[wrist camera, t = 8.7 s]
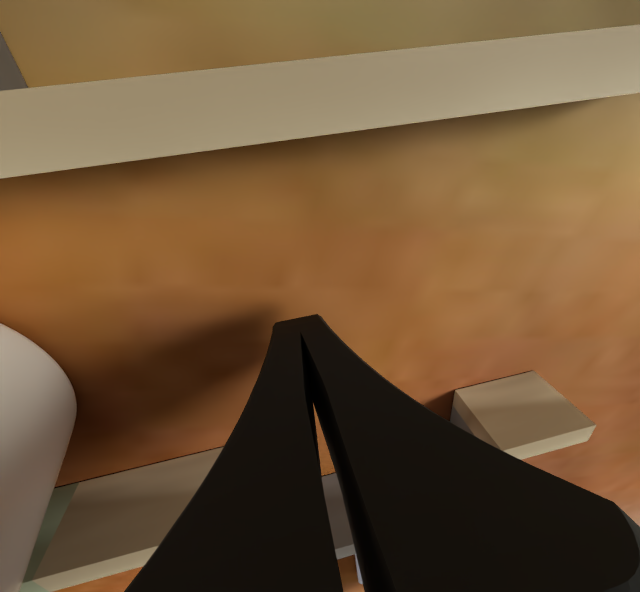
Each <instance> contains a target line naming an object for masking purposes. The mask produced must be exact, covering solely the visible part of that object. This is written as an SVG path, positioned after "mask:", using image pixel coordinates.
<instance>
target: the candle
mask: <svg viewBox="0 0 640 592" xmlns="http://www.w3.org/2000/svg"><path fill="white" fill-rule="evenodd" d="M76 414H77V402H76V396H75V392H74V389H73V387H72V384H71V382H70V380H69V379H68V377H67V375H66V374H65V372H64V371H63V370H62V368H61V367H60V366H59V365H58V363H57V362H56V361H55V360H54V359H53V358H52V357H51V356H50V355H49V354H48V353H47V352H45V351H44V350H43V349H42V348H41V347H39V346H38V345H37V344H35V343H34V342H32V341H31V340H30V339H28V338H27V337H25V336H23V335H22V334H20V333H18V332H17V331H15V330H13V329H11V328H9V327H7V326H5V325H3V324H1V323H0V592H19V591H20V588H21V585H22V582H23V579H24V577H25V574H26V571H27V568H28V565H29V562H30V559H31V556H32V553H33V550H34V547H35V544H36V541H37V538H38V535H39V532H40V529H41V526H42V523H43V520H44V517H45V514H46V511H47V508H48V505H49V502H50V499H51V496H52V493H53V490H54V487H55V484H56V481H57V478H58V475H59V472H60V469H61V466H62V463H63V460H64V457H65V454H66V451H67V448H68V445H69V441H70V438H71V435H72V432H73V428H74V424H75V420H76Z"/></svg>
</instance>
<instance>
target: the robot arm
mask: <svg viewBox="0 0 640 592" xmlns="http://www.w3.org/2000/svg"><path fill="white" fill-rule="evenodd" d="M313 403H314V406H315V409H316V412H317V416H318V419H319V422H320V425H321V428H322V431H323V434H324V437H325V440H326V443H327V446H328V449H329V453H330V456H331V459H332V462H333V465H334V468H335V471H336V474H337V478H338V481H339V485H340V488H341V492H342V496H343V501H344V505H345V509H346V513H347V518H348V522H349V526H350V530H351V535H352V539H353V543H354V547H355V552H356V554H355V560H356V569H357V577H358V581H359V583H360V584H363V586H364V591H365V592H640V527H639V526H638V525H637V524H636V523H635V522H634V521H633V520H632V519H631V518H630V517H629V516H628V515H627V514H626V513H625V512H624V511H622V510H621V509H620V508H619V507H618V506H617V505H616V504H615V503H614V502H612V501H610V500H608V499H605V498H603V497H601V496H599V495H596V494H594V493H592V492H590V491H588V490H585V489H583V488H581V487H579V486H576V485H574V484H572V483H570V482H568V481H565V480H563V479H561V478H559V477H556V476H554V475H552V474H550V473H548V472H545V471H543V470H541V469H539V468H536V467H534V466H532V465H530V464H528V463H526V462H524V461H522V460H520V459H518V458H516V457H514V456H512V455H510V454H508V453H506V452H504V451H502V450H500V449H498V448H496V447H494V446H492V445H490V444H488V443H486V442H484V441H483V440H481V439H479V438H477V437H476V436H474V435H472V434H470V433H469V432H467V431H465V430H463V429H462V428H460V427H458V426H456V425H455V424H453V423H451V422H449V421H448V420H446V419H444V418H442V417H441V416H439V415H437V414H436V413H434V412H433V411H431V410H429V409H428V408H426V407H425V406H423V405H422V404H420V403H419V402H417V401H416V400H414V399H413V398H411V397H410V396H408V395H407V394H405V393H404V392H403V391H401V390H400V389H398V388H397V387H396V386H394V385H393V384H392V383H390V382H389V381H388V380H386V379H385V378H384V377H382V376H381V375H380V374H379V373H378V372H376V371H375V370H374V369H373V368H371V367H370V366H369V365H368V364H367V363H366V362H364V361H363V360H362V359H361V358H360V357H359V356H358V355H357V354H356V353H355V352H353V351H352V350H351V349H350V348H349V347H348V346H347V345H346V344H345V343H344V342H343V341H342V340H341V339H340V338H339V337H338V336H337V335H336V334H335V333H334V332H333V330H332V329H331V328H330V327H329V326H328V325H327V324H326V322H325V321H324V320H323V318H322V317H321V316H319V315H318V314H316V315H311V316H306V317H301V318H296V319H291V320H286V321H281V322H276V323H275V325H274V326H273V331H272V336H271V340H270V344H269V347H268V351H267V354H266V357H265V360H264V363H263V365H262V368H261V371H260V374H259V376H258V379H257V381H256V383H255V386H254V388H253V390H252V393H251V395H250V397H249V399H248V402H247V404H246V406H245V408H244V410H243V412H242V414H241V416H240V418H239V420H238V422H237V424H236V426H235V428H234V430H233V432H232V433H231V435H230V437H229V439H228V441H227V442H226V444H225V446H224V448H223V449H222V451H221V453H220V454H219V456H218V458H217V459H216V461H215V463H214V464H213V466H212V468H211V469H210V471H209V473H208V474H207V476H206V477H205V479H204V481H203V482H202V484H201V485H200V487H199V488H198V490H197V491H196V493H195V494H194V496H193V497H192V499H191V500H190V502H189V503H188V505H187V506H186V507H185V509H184V510H183V512H182V513H181V515H180V516H179V517H178V519H177V520H176V522H175V523H174V525H173V526H172V527H171V529H170V530H169V532H168V533H167V535H166V536H165V537H164V539H163V540H162V542H161V543H160V545H159V546H158V547H157V549H156V550H155V552H154V553H153V554H152V556H151V557H150V558H149V560H148V561H147V562H146V564H145V565H144V567H143V568H142V569H141V571H140V572H139V573H138V574H137V576H136V577H135V578H134V580H133V581H132V582H131V583H130V585H129V586H128V587H127V589H126V590H125V591H124V592H343V588H342V583H341V577H340V572H339V567H338V562H337V557H336V552H335V547H334V542H333V537H332V532H331V527H330V522H329V516H328V511H327V506H326V501H325V496H324V490H323V483H322V476H321V468H320V459H319V451H318V442H317V433H316V425H315V416H314V407H313Z"/></svg>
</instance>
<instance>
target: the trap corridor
mask: <svg viewBox="0 0 640 592" xmlns="http://www.w3.org/2000/svg"><path fill="white" fill-rule="evenodd" d="M634 93H640V24H639V25H629V26H620V27H610V28H601V29H591V30H581V31H572V32H562V33H552V34H543V35H533V36H524V37H514V38H504V39H495V40H485V41H476V42H466V43H456V44H447V45H437V46H428V47H418V48H408V49H399V50H389V51H379V52H370V53H360V54H351V55H341V56H331V57H322V58H312V59H303V60H293V61H283V62H274V63H264V64H254V65H245V66H235V67H226V68H216V69H206V70H197V71H187V72H178V73H168V74H158V75H149V76H139V77H129V78H120V79H110V80H101V81H91V82H81V83H72V84H62V85H53V86H43V87H33V88H28V86H27V84H26V82H25V80H24V78H23V76H22V74H21V72H20V70H19V68H18V66H17V64H16V62H15V60H14V58H13V56H12V54H11V52H10V50H9V48H8V46H7V44H6V42H5V40H4V38H3V36H2V34H1V32H0V179H1V178H8V177H16V176H23V175H30V174H38V173H45V172H53V171H60V170H68V169H75V168H83V167H90V166H98V165H105V164H112V163H120V162H127V161H135V160H142V159H150V158H157V157H165V156H172V155H180V154H187V153H194V152H202V151H209V150H217V149H224V148H232V147H239V146H247V145H254V144H261V143H269V142H276V141H284V140H291V139H299V138H306V137H314V136H321V135H329V134H336V133H343V132H351V131H358V130H366V129H373V128H381V127H388V126H396V125H403V124H411V123H418V122H425V121H433V120H440V119H448V118H455V117H463V116H470V115H478V114H485V113H493V112H500V111H507V110H515V109H522V108H530V107H537V106H545V105H552V104H560V103H567V102H574V101H582V100H589V99H597V98H604V97H612V96H619V95H627V94H634ZM450 422H451V423H453V424H455V425H456V426H458V427H460V428H462V429H463V430H465V431H467V432H469V433H470V434H472V435H474V436H476V437H477V438H479V439H481V440H483V441H484V442H486V443H488V444H490V445H492V446H494V447H496V448H498V449H500V450H502V451H504V452H506V453H508V454H510V455H512V456H514V457H516V458H518V459H520V460H521V459H525V458H529V457H532V456H536V455H539V454H543V453H546V452H550V451H553V450H557V449H561V448H564V447H568V446H571V445H575V444H578V443H582V442H585V441H588V439H589V437H590V436H591V434H592V432H593V430H594V429H595V427H596V424H595V423H594V422H592V421H591V420H590V419H589V418H588V417H587V416H586V415H584V414H583V413H582V412H581V411H580V410H579V409H577V408H576V407H575V406H574V405H573V404H572V403H571V402H569V401H568V400H567V399H566V398H565V397H564V396H562V395H561V394H560V393H559V392H558V391H557V390H556V389H554V388H553V387H552V386H551V385H550V384H549V383H548V382H546V381H545V380H544V379H543V378H542V377H541V376H539V375H538V374H537V373H536V372H535V371H531V372H527V373H523V374H519V375H515V376H510V377H506V378H502V379H498V380H494V381H490V382H486V383H482V384H478V385H474V386H470V387H466V388H462V389H458V390H455V394H454V400H453V405H452V411H451V417H450ZM223 448H224V447H221V448H217V449H213V450H209V451H205V452H201V453H197V454H193V455H189V456H185V457H181V458H176V459H172V460H168V461H164V462H160V463H156V464H152V465H148V466H144V467H140V468H136V469H132V470H128V471H124V472H119V473H115V474H111V475H107V476H103V477H99V478H95V479H91V480H87V481H83V482H79V483H75V484H71V485H67V486H62V487H58V488H54V490H53V493H52V496H51V499H50V502H49V505H48V508H47V511H46V514H45V517H44V520H43V523H42V526H41V529H40V532H39V535H38V538H37V541H36V544H35V547H34V550H33V553H32V556H31V559H30V562H29V565H28V568H27V571H26V574H25V577H24V579H23V582H22V585H21V588H20V591H19V592H52V591H56V590H60V589H63V588H67V587H70V586H74V585H77V584H81V583H84V582H88V581H92V580H95V579H99V578H102V577H106V576H109V575H113V574H116V573H120V572H124V571H127V570H131V569H134V568H138V567H141V566H144V565H145V564H146V562H147V561H148V560H149V558H150V557H151V556H152V554H153V553H154V552H155V550H156V549H157V547H158V546H159V545H160V543H161V542H162V540H163V539H164V537H165V536H166V535H167V533H168V532H169V530H170V529H171V527H172V526H173V525H174V523H175V522H176V520H177V519H178V517H179V516H180V515H181V513H182V512H183V510H184V509H185V507H186V506H187V505H188V503H189V502H190V500H191V499H192V497H193V496H194V494H195V493H196V491H197V490H198V488H199V487H200V485H201V484H202V482H203V481H204V479H205V477H206V476H207V474H208V473H209V471H210V469H211V468H212V466H213V464H214V463H215V461H216V459H217V458H218V456H219V454H220V453H221V451H222V449H223ZM322 483H323V490H324V496H325V501H326V506H327V511H328V516H329V522H330V527H331V532H332V537H333V542H334V547H335V552H336V557H337V559H341V558H344V557H347V556H351V555H354V554H356V552H355V547H354V543H353V539H352V535H351V530H350V526H349V522H348V518H347V513H346V509H345V505H344V501H343V496H342V492H341V488H340V485H339V481H338V478H337V474H336V473H334V474H330V475H326V476H322Z"/></svg>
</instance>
